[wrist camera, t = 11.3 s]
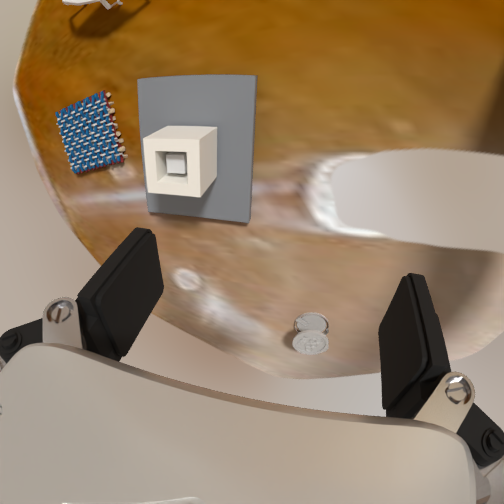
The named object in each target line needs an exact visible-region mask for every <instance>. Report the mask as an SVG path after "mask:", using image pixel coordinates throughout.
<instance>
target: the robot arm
mask: <svg viewBox="0 0 504 504" xmlns="http://www.w3.org/2000/svg"><path fill="white" fill-rule="evenodd" d="M163 289H164V285H163V279H162V273H161V268H160V262H159V255H158V249H157V243H156V237H155V234H152V231H151V230H150V229H145V228H138V227H137V228H135V229H134V230H133V231H132V232H131V233H130V234H129V235H128V237H127V238H126V239H125V240H124V241H123V242H122V243H121V244H120V245H119V246H118V248H117V249H116V250H115V251H114V252H113V253H112V254H111V255H110V257H109V258H108V259H107V260H106V261H105V262H104V264H103V265H102V266H101V267H100V268H99V269H98V271H97V272H96V273H95V274H94V275H93V276H92V278H91V279H90V280H89V281H88V283H87V284H86V285H85V286H84V287H83V289H82V290H81V291H80V292H79V293H78V295H77V296H78V298H77V299H76V300H75V301H74V300H73V299H71V298H69V297H62V298H58V299H55V300H54V301H52V302H51V303H49V304H48V305H47V307H46V308H45V310H44V312H43V318H41V319H39V320H36V321H33V322H30V323H27V324H24V325H21V326H19V327H16V328H13V329H10V330H8V331H6V332H5V333H4V334H3V335H2V336H1V337H0V504H504V432H503V431H502V430H501V428H500V427H499V426H497V425H496V424H495V423H494V422H493V421H492V420H491V419H490V418H489V417H488V416H487V415H486V414H485V413H484V412H483V411H482V410H481V409H480V408H479V407H478V406H477V405H475V403H473V401H474V398H475V390H474V386H473V384H472V382H471V381H470V379H468V377H467V376H465V375H464V374H462V373H459V372H451V369H450V363H449V359H448V354H447V350H446V346H445V341H444V337H443V333H442V329H441V326H440V322H439V318H438V316H437V314H436V313H435V310H434V307H433V303H432V300H431V296H430V293H429V290H428V287H427V283H426V280H425V277H424V276H423V275H419V274H413V273H409V274H408V275H407V276H403V277H402V279H401V281H400V284H399V286H398V288H397V290H396V293H395V295H394V297H393V299H392V301H391V303H390V305H389V308H388V310H387V312H386V314H385V316H384V318H383V320H382V322H381V324H380V326H379V332H378V335H379V347H380V362H381V381H382V407H383V409H386V417H380V416H367V415H356V414H347V413H338V412H329V411H321V410H312V409H306V408H299V407H293V406H287V405H281V404H275V403H270V402H264V401H259V400H254V399H249V398H245V397H240V396H235V395H231V394H227V393H222V392H218V391H214V390H210V389H206V388H202V387H198V386H195V385H191V384H187V383H184V382H180V381H177V380H173V379H170V378H166V377H163V376H160V375H157V374H154V373H150V372H147V371H144V370H141V369H138V368H135V367H132V366H130V365H127V364H124V363H121V362H119V361H120V359H121V357H122V356H123V357H124V356H126V354H127V353H128V351H129V350H130V348H131V346H132V344H133V343H134V341H135V339H136V337H137V336H138V334H139V332H140V330H141V329H142V327H143V325H144V324H145V322H146V320H147V318H148V317H149V315H150V313H151V312H152V310H153V308H154V307H155V305H156V303H157V302H158V300H159V298H160V297H161V295H162V293H163Z"/></svg>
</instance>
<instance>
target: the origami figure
mask: <svg viewBox="0 0 504 504" xmlns="http://www.w3.org/2000/svg"><path fill="white" fill-rule="evenodd" d="M62 1H63V3H64V4H65V5H69V4H72V5H84V4H89V3H94V2H98V1H100V2H101V3H102V4H103V6H104V7H105V8H106V9H110V8H111V7H112V6H114V5H115V4H116V3H117V4H119V5H122V4H123V3H122V2H120V1H116V2H115V3H113V4H112V5H110V4H109V3H108V2H107V1H106V0H62Z"/></svg>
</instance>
